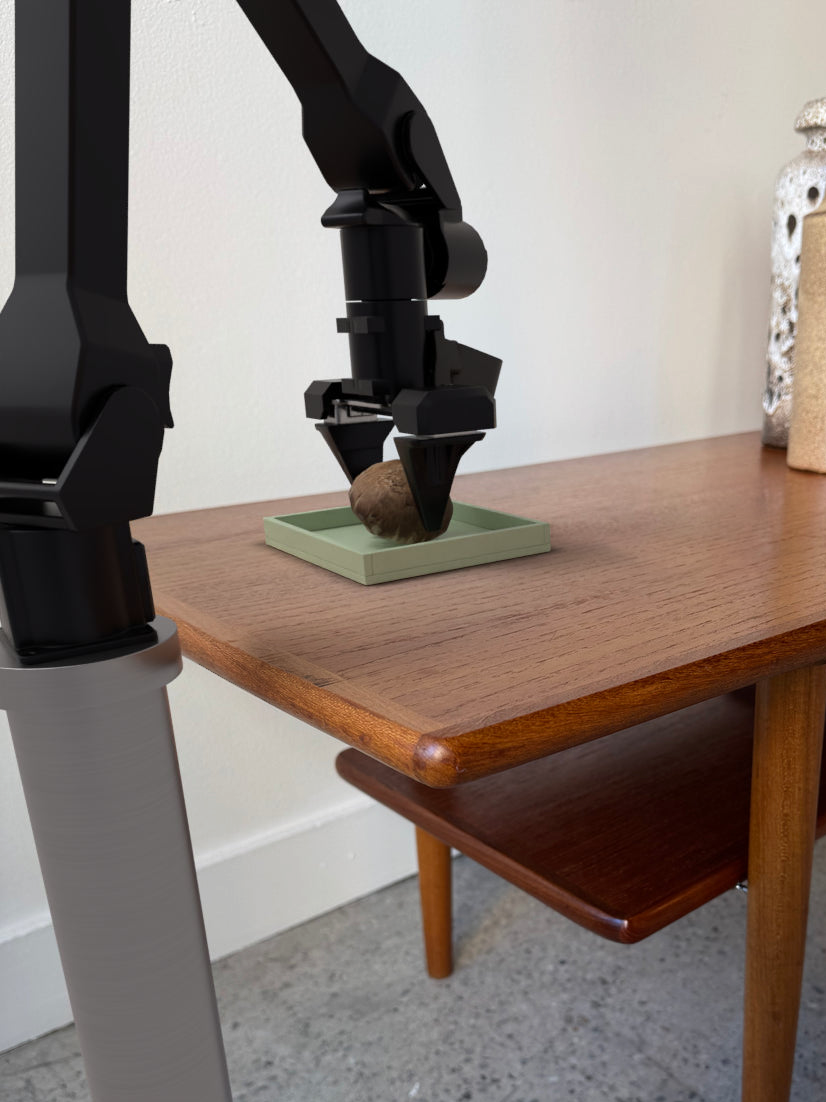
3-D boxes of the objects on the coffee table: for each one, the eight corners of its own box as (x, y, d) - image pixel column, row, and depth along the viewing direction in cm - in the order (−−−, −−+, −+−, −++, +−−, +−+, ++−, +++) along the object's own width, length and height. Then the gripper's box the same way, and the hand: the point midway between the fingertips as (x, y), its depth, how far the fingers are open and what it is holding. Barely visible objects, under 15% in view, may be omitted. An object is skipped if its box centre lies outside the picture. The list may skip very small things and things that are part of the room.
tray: (365, 585, 69) (363, 554, 68) (265, 544, 82) (262, 517, 81) (551, 551, 77) (550, 522, 76) (432, 518, 90) (431, 494, 89)
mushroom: (336, 489, 81) (363, 426, 77) (430, 520, 85) (461, 461, 80) (332, 557, 76) (361, 493, 72) (433, 587, 79) (466, 528, 75)
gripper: (558, 295, 70) (561, 525, 76) (420, 301, 85) (431, 494, 90) (413, 299, 64) (429, 548, 70) (291, 304, 79) (312, 511, 84)
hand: (402, 522), depth 79 cm, fingers open, 9 cm apart
